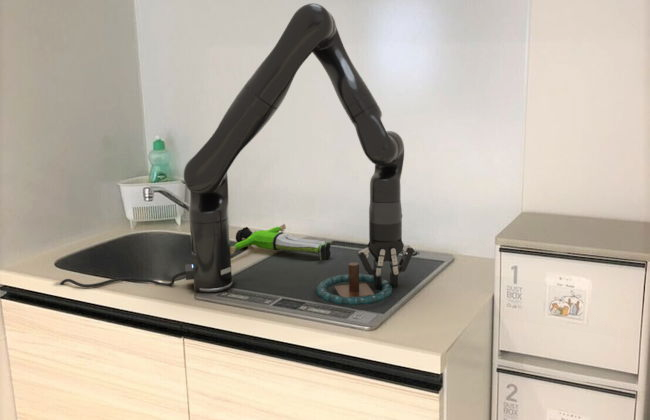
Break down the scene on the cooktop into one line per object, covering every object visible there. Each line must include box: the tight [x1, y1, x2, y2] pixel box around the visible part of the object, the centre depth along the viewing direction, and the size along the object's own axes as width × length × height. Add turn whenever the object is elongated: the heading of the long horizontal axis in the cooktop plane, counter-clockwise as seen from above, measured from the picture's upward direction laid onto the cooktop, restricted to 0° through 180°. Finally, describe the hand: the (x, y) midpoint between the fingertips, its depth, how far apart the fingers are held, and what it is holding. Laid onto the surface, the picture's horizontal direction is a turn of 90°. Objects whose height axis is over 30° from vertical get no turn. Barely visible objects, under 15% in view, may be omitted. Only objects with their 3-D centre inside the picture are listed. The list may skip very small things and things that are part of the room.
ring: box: [315, 273, 394, 306], centre depth 161 cm, size 18×18×2 cm
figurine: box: [230, 223, 332, 262], centre depth 193 cm, size 28×6×30 cm
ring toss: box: [333, 261, 375, 297], centre depth 160 cm, size 8×8×8 cm
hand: (385, 288), depth 163 cm, fingers open, 3 cm apart
